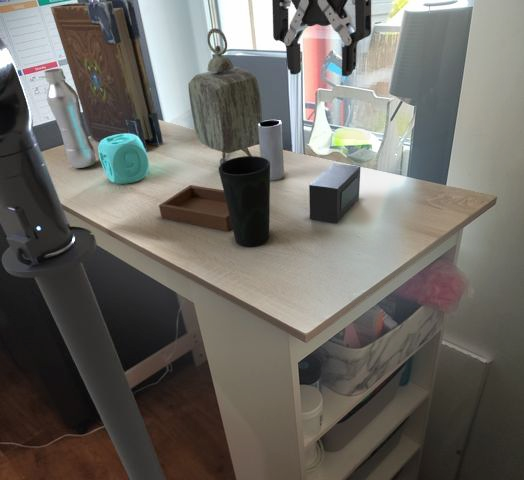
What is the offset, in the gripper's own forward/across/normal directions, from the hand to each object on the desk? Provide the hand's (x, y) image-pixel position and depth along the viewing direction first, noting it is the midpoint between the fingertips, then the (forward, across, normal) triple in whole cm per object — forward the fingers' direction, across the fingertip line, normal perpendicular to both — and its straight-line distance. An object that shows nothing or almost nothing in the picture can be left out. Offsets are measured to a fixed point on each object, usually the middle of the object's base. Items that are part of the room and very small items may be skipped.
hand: (320, 74), depth 70 cm
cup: (+21, -6, -14) cm, 26 cm away
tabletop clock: (+21, -30, +13) cm, 39 cm away
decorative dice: (+21, -47, -2) cm, 51 cm away
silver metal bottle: (+21, -63, 0) cm, 66 cm away
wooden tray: (+21, -18, -10) cm, 29 cm away
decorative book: (+21, -67, +16) cm, 72 cm away
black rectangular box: (+21, +2, 0) cm, 21 cm away
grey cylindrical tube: (+21, -16, +10) cm, 28 cm away
